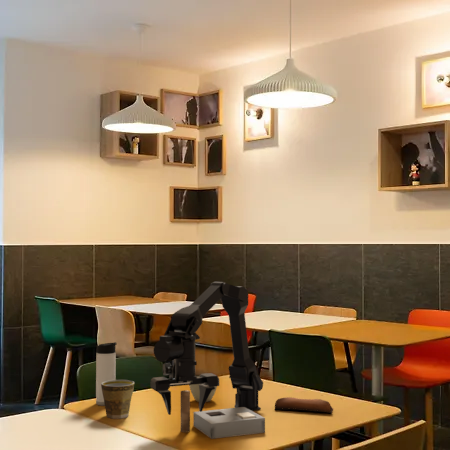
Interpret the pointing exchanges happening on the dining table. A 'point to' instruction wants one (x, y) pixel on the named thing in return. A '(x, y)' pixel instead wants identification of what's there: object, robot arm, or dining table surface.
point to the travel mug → (104, 368)
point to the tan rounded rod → (185, 411)
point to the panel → (228, 422)
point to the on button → (245, 415)
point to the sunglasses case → (303, 404)
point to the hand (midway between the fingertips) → (185, 412)
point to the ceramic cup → (117, 397)
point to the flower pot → (196, 392)
